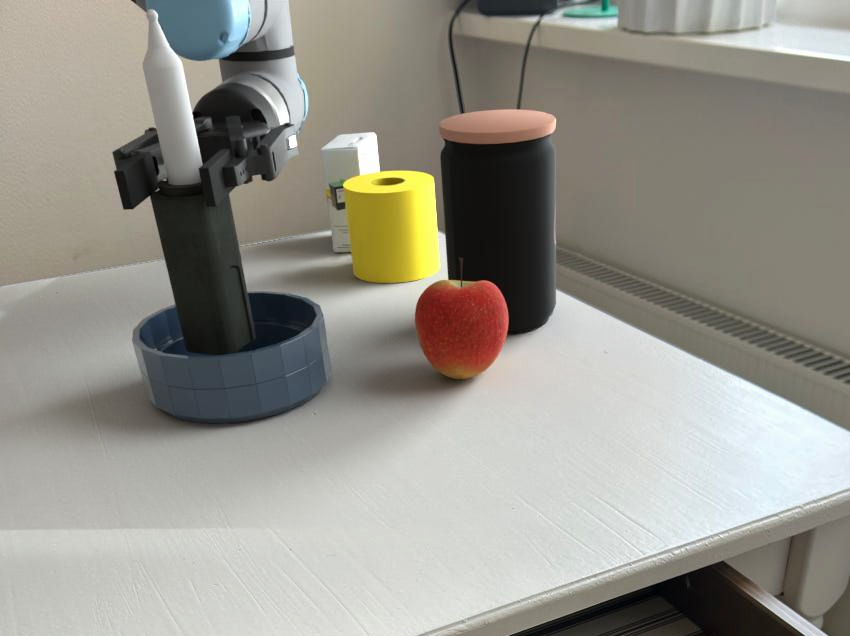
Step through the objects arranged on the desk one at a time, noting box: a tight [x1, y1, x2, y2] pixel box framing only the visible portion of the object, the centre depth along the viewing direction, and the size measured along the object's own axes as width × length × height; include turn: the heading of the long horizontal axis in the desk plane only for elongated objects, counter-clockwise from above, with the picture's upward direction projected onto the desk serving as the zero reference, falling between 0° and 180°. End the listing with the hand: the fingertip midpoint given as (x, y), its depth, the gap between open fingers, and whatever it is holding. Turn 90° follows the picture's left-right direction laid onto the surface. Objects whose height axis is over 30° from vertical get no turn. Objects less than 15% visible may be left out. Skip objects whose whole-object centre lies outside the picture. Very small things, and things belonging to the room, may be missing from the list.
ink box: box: [320, 131, 381, 253], centre depth 119 cm, size 8×5×12 cm, turn 171°
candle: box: [142, 9, 256, 356], centre depth 79 cm, size 5×5×25 cm
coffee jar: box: [437, 108, 557, 335], centre depth 94 cm, size 11×11×18 cm
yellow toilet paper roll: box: [343, 170, 441, 284], centre depth 110 cm, size 10×10×9 cm
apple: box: [414, 257, 508, 380], centre depth 85 cm, size 8×8×10 cm
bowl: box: [131, 290, 333, 424], centre depth 86 cm, size 16×16×6 cm
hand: (165, 189), depth 74 cm, fingers closed on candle, 6 cm apart
